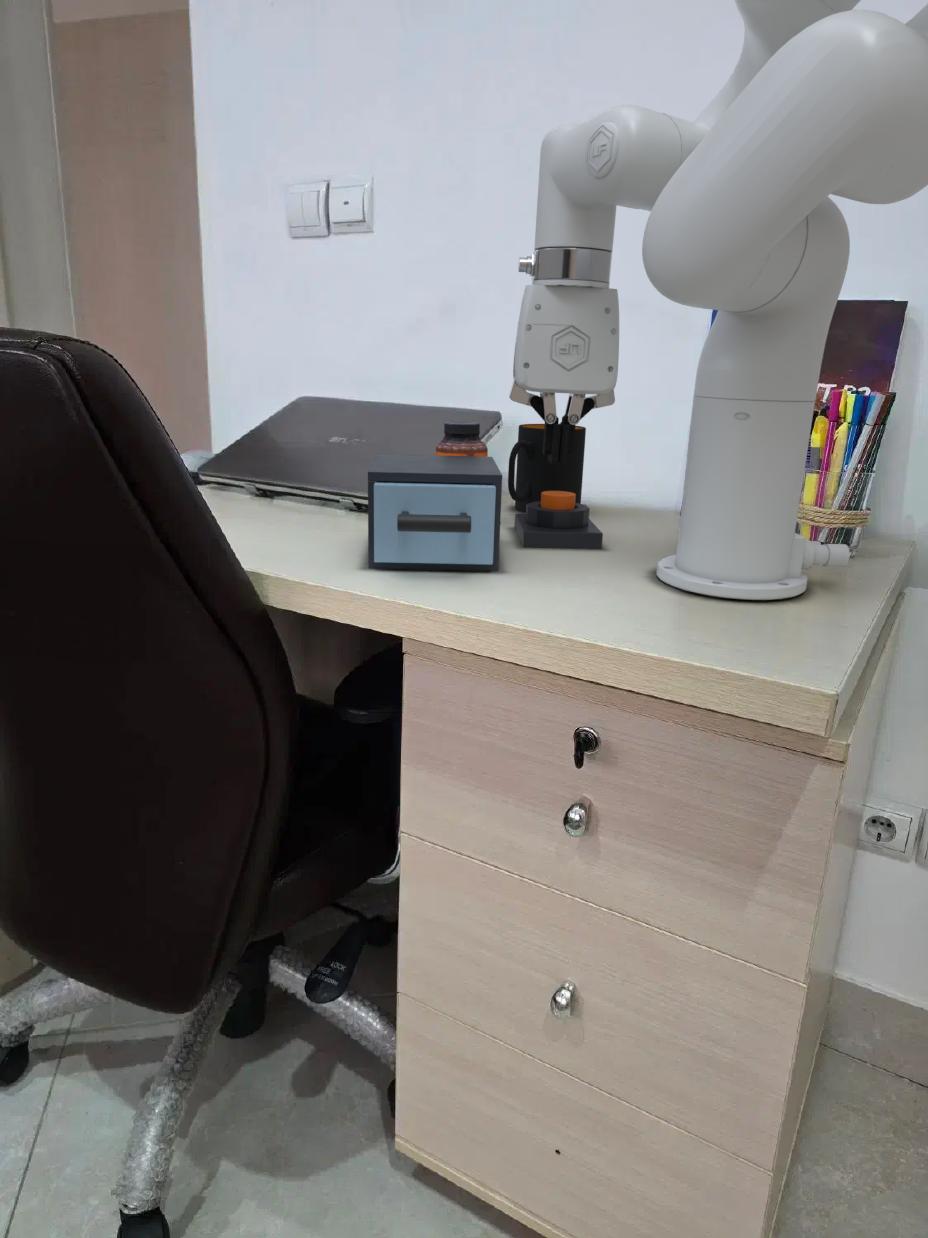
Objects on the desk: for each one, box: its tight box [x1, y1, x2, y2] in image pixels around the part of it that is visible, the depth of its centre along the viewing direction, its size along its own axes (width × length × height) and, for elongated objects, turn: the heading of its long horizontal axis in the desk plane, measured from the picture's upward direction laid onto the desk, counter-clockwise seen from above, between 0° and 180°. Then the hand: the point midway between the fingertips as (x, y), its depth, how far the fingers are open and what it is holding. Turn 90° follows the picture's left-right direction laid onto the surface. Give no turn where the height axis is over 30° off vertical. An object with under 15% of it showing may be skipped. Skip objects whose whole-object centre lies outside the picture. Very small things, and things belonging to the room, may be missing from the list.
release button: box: [541, 491, 576, 510], centre depth 87 cm, size 4×4×2 cm
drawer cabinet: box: [367, 453, 503, 572], centre depth 79 cm, size 14×12×9 cm
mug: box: [507, 423, 587, 514], centre depth 102 cm, size 8×12×10 cm
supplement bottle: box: [435, 420, 489, 457], centre depth 94 cm, size 6×6×11 cm
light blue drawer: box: [374, 481, 496, 565], centre depth 75 cm, size 17×10×7 cm, turn 2°
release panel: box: [514, 501, 604, 550], centre depth 88 cm, size 8×10×4 cm
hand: (557, 461), depth 86 cm, fingers closed
